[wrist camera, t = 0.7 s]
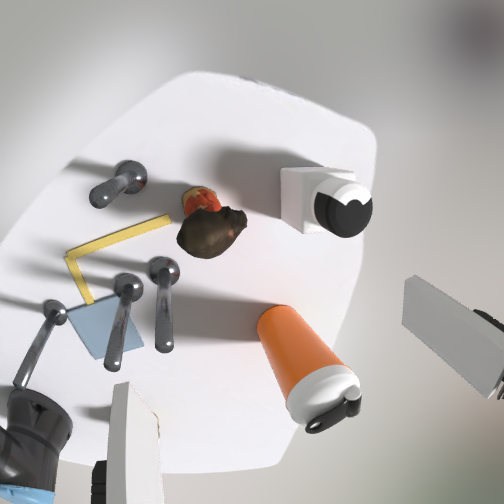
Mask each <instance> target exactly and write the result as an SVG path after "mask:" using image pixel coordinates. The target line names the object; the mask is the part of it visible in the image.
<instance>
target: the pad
mask: <svg viewBox="0 0 504 504" xmlns="http://www.w3.org/2000/svg"><path fill="white" fill-rule="evenodd" d="M119 300H120V298H119V297H118V296H117V295H115V296H112V297H109V298H106V299H103V300H100V301H97V302H95V303H94V304H91V305H85V306H82V307H79V308H76V309H73V310H70V311H68V312H67V315H68V317H69V319H70V320H71V322H72V324H73V326H74V327H75V329H76V331H77V332H78V334H79V336H80V337H81V339H82V340H83V342H84V343H85V345H86V347H87V348H88V350H89V351H90V353H91V354H92V356H93V357H94V359H95V360H96V359H100V358H104V357H105V355H106V350H107V346H108V342H109V338H110V333H111V330H112V326H113V322H114V318H115V314H116V311H117V307H118V304H119ZM143 346H144V343H143V341H142V339H141V337H140V335H139V334H138V332H137V330H136V328H135V326H134V324H133V323H132V321H131V319H130V317H129V319H128V325H127V330H126V336H125V342H124V348H123V352H126V351H129V350H133V349H136V348H140V347H143Z"/></svg>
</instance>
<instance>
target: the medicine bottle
mask: <svg viewBox="0 0 504 504" xmlns="http://www.w3.org/2000/svg"><path fill="white" fill-rule="evenodd" d="M280 179H281V219H282V220H283V221H284V222H286V223H287V224H289V225H290V226H292V227H293V228H295V229H296V230H298V231H299V232H301V233H302V234H308V233H317V232H326V231H330V232H332V233H333V234H335V235H337V236H339V237H343V238H349V237H353V236H356V235H357V234H359V233H360V232H361V231H363V230H364V228H365V227H366V226H367V224H368V223H369V221H370V218H371V215H372V208H373V207H372V198H371V195H370V193H369V191H368V189H367V188H366V187H365V186H364V185H363V184H361V183H359V182H356V181H355V173H354V172H353V171H347V170H341V169H335V168H329V167H290V168H281V170H280Z"/></svg>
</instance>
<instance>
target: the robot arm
mask: <svg viewBox="0 0 504 504" xmlns="http://www.w3.org/2000/svg"><path fill="white" fill-rule="evenodd" d="M402 325H403V326H404V327H406V328H407V329H408V330H409V331H410V332H411V333H413V334H414V335H415V336H416V337H417V338H419V339H420V340H421V341H422V342H423V343H424V344H426V345H427V346H428V347H429V348H430V349H432V351H434V352H435V353H436V354H437V355H438V356H439V357H441V358H442V359H443V360H444V361H445V362H446V363H447V364H448V365H450V366H451V367H452V368H453V369H454V370H455V371H456V372H457V373H459V374H460V375H461V376H462V377H463V378H464V379H465V380H466V381H467V382H468V383H470V384H471V385H472V386H473V387H474V388H475V389H476V390H477V391H478V392H479V393H480V394H482V395H483V396H484V397H485V398H486V399H488V398H489V397H490V396H491V395H492V394H493V393H494V392H495V391H496V390H497V388H498V386H499V384H500V382H501V381H503V382H504V325H503V324H502V323H499V321H497V320H496V319H493V317H491V316H490V315H488V314H487V313H485V312H483V311H480V310H477V309H474V310H473V311H472V310H470V309H469V308H467V307H466V306H464V305H462V304H461V303H459V302H458V301H456V300H455V299H453V298H452V297H450V296H449V295H447V294H446V293H444V292H443V291H441V290H439V289H438V288H436V287H435V286H433V285H431V284H430V283H428V282H426V281H425V280H423V279H421V278H420V277H418V276H417V275H414V276H412V277H410V278H408V279H406V280H405V286H404V303H403V316H402ZM503 392H504V385H503V387H502V388H501V390H500V392H499V394H498V397H497V399H498V400H499V399H500V397H501V396H502V394H503ZM502 399H504V395H503V397H502ZM7 407H8V412H7V429H6V430H5V429H4V428H2V427H1V426H0V497H1V498H3V499H5V500H7V501H9V502H11V503H14V504H53V501H54V496H55V484H56V475H57V467H58V459H59V454H60V452H61V450H62V449H63V447H64V446H65V444H66V443H67V441H68V440H69V438H70V436H71V433H72V428H73V424H72V421H71V418H70V417H69V415H68V414H67V413H66V412H65V410H64V409H63V408H61V407H60V406H59V405H58V404H57V403H55V402H54V401H52V400H51V399H49V398H48V397H46V396H44V395H42V394H40V393H37V392H35V391H32V390H27V389H25V391H20V390H18V389H17V390H14V391H13V392H12V393H11V395H10V397H9V400H8V403H7ZM91 493H92V495H91V504H165V500H164V493H163V485H162V476H161V465H160V454H159V440H158V423H157V417H156V416H155V415H154V414H153V412H152V411H151V410H150V409H149V407H148V406H147V405H146V403H145V402H144V401H143V399H142V398H141V397H140V396H139V394H138V393H137V391H136V390H135V389H134V387H133V386H132V385H131V383H130V382H125V383H121V384H116V385H114V390H113V398H112V406H111V415H110V425H109V437H108V452H107V460H104V461H97V462H96V464H95V467H94V469H93V471H92V486H91Z"/></svg>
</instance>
